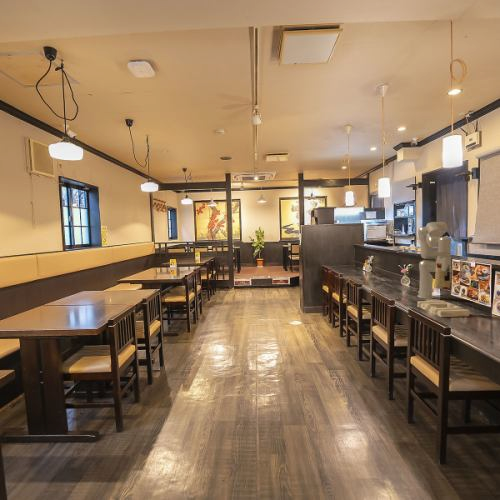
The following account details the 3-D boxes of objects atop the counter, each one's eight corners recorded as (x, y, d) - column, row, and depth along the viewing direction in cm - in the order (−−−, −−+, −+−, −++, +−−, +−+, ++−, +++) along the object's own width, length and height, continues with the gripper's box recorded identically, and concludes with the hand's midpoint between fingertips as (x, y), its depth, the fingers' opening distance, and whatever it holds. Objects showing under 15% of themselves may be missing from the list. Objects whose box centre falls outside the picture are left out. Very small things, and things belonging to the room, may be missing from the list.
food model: (435, 289, 216) (437, 261, 214) (433, 287, 222) (434, 260, 221) (451, 290, 213) (453, 262, 211) (449, 288, 219) (450, 260, 217)
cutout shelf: (417, 306, 231) (417, 301, 231) (442, 305, 232) (442, 300, 232) (440, 316, 205) (440, 311, 205) (469, 316, 206) (469, 310, 206)
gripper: (431, 253, 224) (430, 277, 225) (447, 256, 206) (446, 282, 208) (440, 253, 224) (439, 277, 226) (458, 256, 207) (457, 281, 208)
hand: (443, 279), depth 217 cm, fingers closed on food model, 7 cm apart
